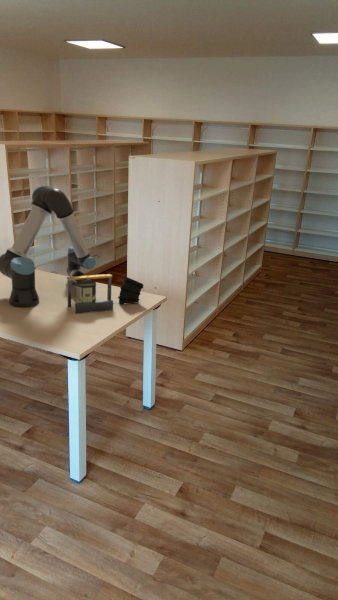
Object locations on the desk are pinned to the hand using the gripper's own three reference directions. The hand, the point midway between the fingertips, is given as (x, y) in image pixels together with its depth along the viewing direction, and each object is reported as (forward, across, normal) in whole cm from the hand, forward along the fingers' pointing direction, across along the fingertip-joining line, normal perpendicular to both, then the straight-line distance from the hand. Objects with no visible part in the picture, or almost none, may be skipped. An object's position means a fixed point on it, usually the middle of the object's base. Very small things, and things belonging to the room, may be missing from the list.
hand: (88, 290), depth 237 cm
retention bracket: (+9, +1, -7) cm, 11 cm away
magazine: (+6, -22, -7) cm, 24 cm away
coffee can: (+7, +3, -7) cm, 11 cm away
